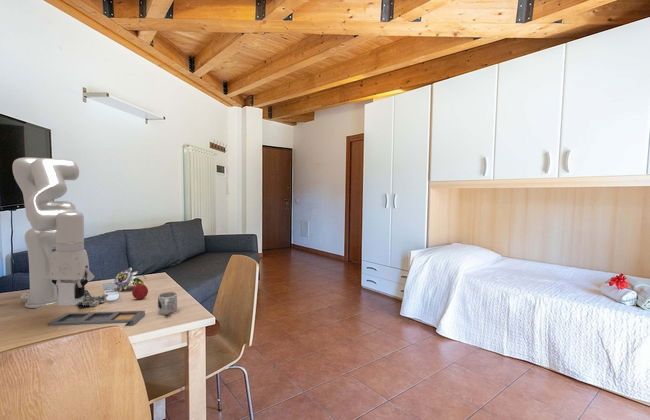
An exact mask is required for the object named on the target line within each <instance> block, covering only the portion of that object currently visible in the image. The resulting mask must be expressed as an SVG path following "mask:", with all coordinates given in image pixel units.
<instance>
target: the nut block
mask: <svg viewBox="0 0 650 420" xmlns="http://www.w3.org/2000/svg"><path fill="white" fill-rule="evenodd" d="M77 287H78V285H77V282H76V280H63V281H61V282H59V283H58V300H59V302H58V306H77V305H76V304H77V303H79V302H81V301H82V300H83V297H81V298H79V299H77V298H76V288H77Z"/></svg>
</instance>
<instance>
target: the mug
mask: <svg viewBox="0 0 650 420" xmlns="http://www.w3.org/2000/svg"><path fill="white" fill-rule="evenodd" d="M177 311H178V293H177V292H174V291H166V292H162V293H159V294H158V295H157V313H158V314H159V315H162V316H164V315H165V316H166V315H173V314H175V313H176V312H177ZM174 312H175V313H174Z"/></svg>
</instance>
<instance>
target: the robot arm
mask: <svg viewBox="0 0 650 420" xmlns="http://www.w3.org/2000/svg"><path fill="white" fill-rule="evenodd" d="M12 174H13V176H14V177H13V178H14V180H15V182H16V184H17V185H18V187H19V188H20V190H21V192H22V195H23V202H24V209H25V215H26V218H27V221H28V222H29V224H30V226H31V228H29V229H28V230H27V231H26V232H25V234H24V241H25V246H26V250H27V256H28V270H29V271H28V272H29V292H23V293H22V294H21V296H20V300H26V302H25V303H24V304H25V308H29V309H39V308H41V307H44V306H47V305H48V306H49V305H53V304H56V303H59V300H58V283H59V282H61V281H63V280H76V282H77V285H78V287H77V288H76V298H77V299H79V298H81V297H83V296H85V292H86V291H85V288H86V287H85V286H86V285H87V284H88V283H89V282H90V281H92V280H93V279H94V278H95V277H96V276H95V275H94V274H93V272H91V270H90V265H89V263H90V262H89V257H88V252H87V250H86V249H85V224H84V222H85V218H84V214H83V213H82V212H80V211H79V210H78V209H77V208H76V206H75V205H74V204H73V202H71V201H68V200H67V201H66V200H57V199H59V198H63V196H65V194H66V193H67V191H68V187H67V184H66V182H65V181H76V180H77V179H78V178H79V175H80V169H79V166H78V164H77V162H75V161H74V160H71V159H62V158H49V157H19V158H16V159H14V161H13V163H12ZM53 250H54V251H53ZM86 277H87V278H86Z"/></svg>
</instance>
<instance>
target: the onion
mask: <svg viewBox="0 0 650 420" xmlns="http://www.w3.org/2000/svg"><path fill="white" fill-rule="evenodd" d="M131 293H132V297H133V298H134V299H136V300H143V299H145V298H146V297H147V295H148V293H149V289H148V287H147V286H146V284H142V283H141V282H139V283H138V285H136V286H134V287H133V288H132V292H131Z"/></svg>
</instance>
